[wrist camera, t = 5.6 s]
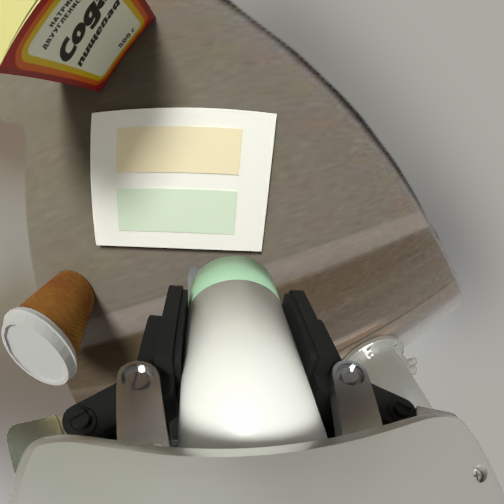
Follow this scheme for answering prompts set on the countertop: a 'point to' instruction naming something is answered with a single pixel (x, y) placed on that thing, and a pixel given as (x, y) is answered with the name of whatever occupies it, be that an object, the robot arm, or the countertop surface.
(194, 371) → the white cylinder
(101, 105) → the countertop surface
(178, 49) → the countertop surface
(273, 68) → the countertop surface
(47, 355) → the disposable coffee cup
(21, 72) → the baking soda box
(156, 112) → the picture board
